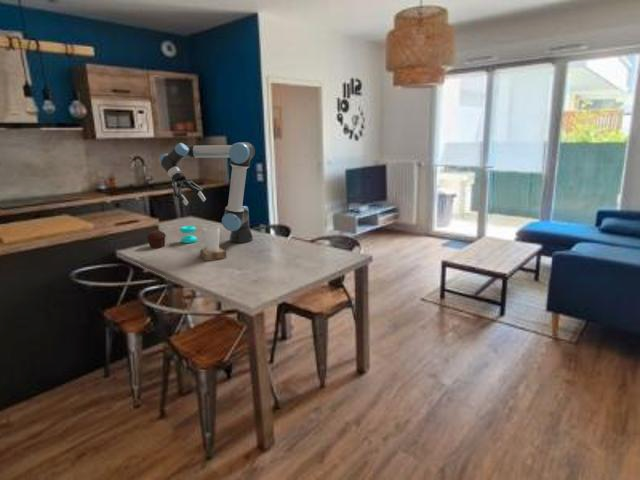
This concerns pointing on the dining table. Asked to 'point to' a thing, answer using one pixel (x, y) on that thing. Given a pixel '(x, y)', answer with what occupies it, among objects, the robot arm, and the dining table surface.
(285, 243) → the dining table surface
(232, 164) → the robot arm
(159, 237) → the muffin
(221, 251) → the pedestal
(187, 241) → the donuts
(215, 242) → the foam cup
